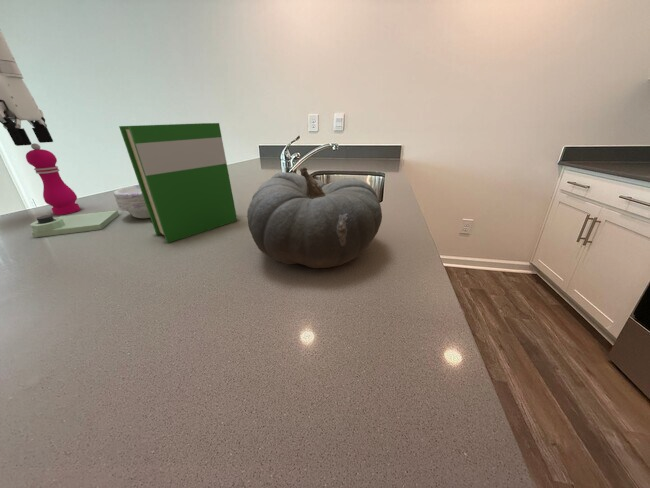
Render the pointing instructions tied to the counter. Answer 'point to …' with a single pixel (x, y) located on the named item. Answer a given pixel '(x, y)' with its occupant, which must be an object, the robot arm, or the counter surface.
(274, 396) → the counter surface
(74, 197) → the pepper mill
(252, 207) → the gourd
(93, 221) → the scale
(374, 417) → the counter surface
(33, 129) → the robot arm
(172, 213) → the hardback book
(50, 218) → the button
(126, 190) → the paper bowls
